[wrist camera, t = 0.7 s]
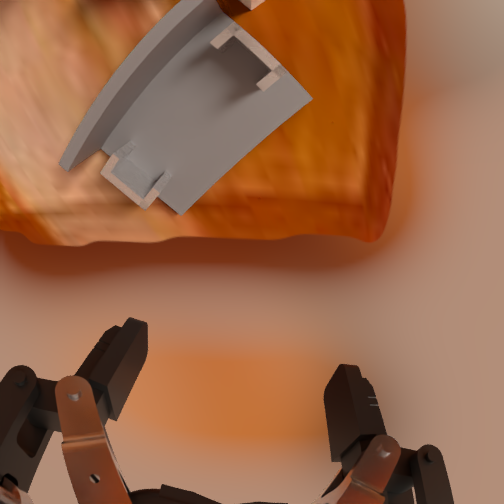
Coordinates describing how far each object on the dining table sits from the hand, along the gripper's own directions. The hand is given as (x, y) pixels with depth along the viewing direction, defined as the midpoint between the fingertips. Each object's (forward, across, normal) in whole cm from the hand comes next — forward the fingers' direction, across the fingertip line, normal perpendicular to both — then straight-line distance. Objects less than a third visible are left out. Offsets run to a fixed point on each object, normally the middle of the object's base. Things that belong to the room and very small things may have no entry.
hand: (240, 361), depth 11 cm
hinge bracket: (+25, +10, -10) cm, 29 cm away
